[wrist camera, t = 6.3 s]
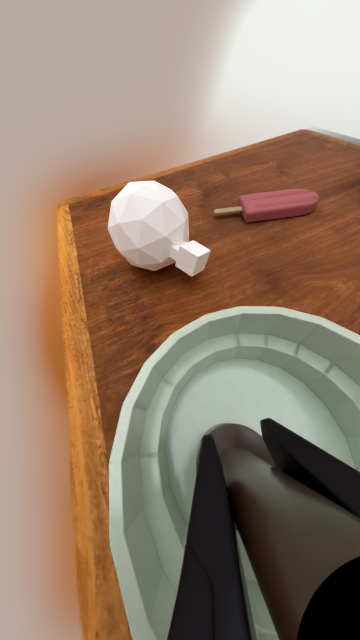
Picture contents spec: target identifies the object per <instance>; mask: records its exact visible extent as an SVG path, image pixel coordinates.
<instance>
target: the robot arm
mask: <svg viewBox="0 0 360 640" xmlns="http://www.w3.org/2000/svg"><path fill="white" fill-rule="evenodd" d="M260 426H261V432H262V437H263V440H264V442H265V444H266V446H267V448H268V450H269V452H270V454H271V456H272V458H273V460H274V462H275V464H276V466H277V468H278V469H279V470H280V471H282V472H284V473H285V474H287V475H289V476H290V477H292V478H294V479H295V480H297V481H299V482H300V483H302V484H304V485H305V486H307V487H309V488H311V489H312V490H314V491H316V492H317V493H319V494H321V495H322V496H324V497H326V498H327V499H329V500H331V501H332V502H334V503H336V504H337V505H339V506H341V507H342V508H344V509H346V510H347V511H349V512H351V513H352V514H354V515H356V516H357V517H359V518H360V472H359V471H358V470H356V469H354V468H353V467H351V466H349V465H348V464H346V463H344V462H343V461H341V460H339V459H338V458H336V457H334V456H333V455H331V454H329V453H328V452H326V451H324V450H323V449H321V448H319V447H318V446H316V445H314V444H313V443H311V442H309V441H308V440H306V439H304V438H303V437H301V436H299V435H298V434H296V433H294V432H293V431H291V430H289V429H288V428H286V427H284V426H283V425H281V424H279V423H278V422H276V421H274V420H273V419H271V418H266V419H262V420H261V421H260ZM186 542H187V543H186V544H185V550H184V556H183V563H182V568H181V574H180V579H179V585H178V591H177V596H176V600H175V605H174V609H173V614H172V619H171V623H170V628H169V632H168V636H167V640H257V636H256V631H255V626H254V621H253V616H252V610H251V605H250V600H249V595H248V590H247V584H246V579H245V574H244V569H243V564H242V558H241V553H240V548H239V543H238V537H237V532H236V527H235V522H234V518H233V514H232V509H231V503H230V498H229V493H228V489H227V484H226V480H225V475H224V471H223V466H222V462H221V458H220V455H219V452H218V449H217V446H216V443H215V440H214V437H213V435H212V434H211V433H210V434H206V435H203V437H202V442H201V448H200V455H199V461H198V468H197V474H196V480H195V487H194V493H193V500H192V506H191V512H190V519H189V525H188V532H187V538H186Z"/></svg>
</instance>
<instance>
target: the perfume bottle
mask: <svg viewBox="0 0 360 640" xmlns="http://www.w3.org/2000/svg"><path fill="white" fill-rule="evenodd" d="M108 231H109V233H110V235H111V238H112V240H113V243H114V245H115V247H116V248H117V249H118V250H119V252H120V253H121V254H122V255H123V256H124V257H125V258H126V259H127V261H128V262H129V263H130V264H131V265H133V266H137V267H140V268H144V269H148V270H152V271H156V270H159V269H161V268H163V267H166V266H168V265H171V264H173V263H175V262H176V265H175V266H176V267H178V268H179V269H181V270H182V271H184V272H185V273H187V274H188V275H190V276H191V277H192V276H194V275H196V274H197V273H199V272H201V271H202V270H204V268H205V265H206V262H207V259H208V257H209V254H210V251H211V250H209V249H207V248H206V247H204V246H202V245H201V244H199V243H197V242H195V241H194V240H193V241H190V242H189V225H188V212H187V210H186V209H185V207H184V206H183V204H182V202H181V201H180V199H179V198H178V196H177V195H176V194H175V193H174V192H173V191H172V190H171V189H169V188H167V187H165V186H163V185H161V184H159V183H158V182H156V181H141V182H129V183H128V184H127V185H126V186H125V187H124V188H123V190H122V191H121V192H120V193H119V194H118V195H117V196H116V197H115V198H114V199H113V200H112V202H111V209H110V216H109V223H108Z"/></svg>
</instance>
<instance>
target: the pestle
mask: <svg viewBox="0 0 360 640" xmlns="http://www.w3.org/2000/svg"><path fill="white" fill-rule="evenodd" d="M210 433H211V434H212V435H213V437H214V440H215V443H216V446H217V449H218V452H219V455H220V458H221V462H222V466H223V471H224V475H225V480H226V484H227V489H228V493H229V498H230V503H231V509H232V514H233V518H234V522H235V527H236V530H237V531H238V532H239V535H240V537H241V540H242V543H243V545H244V548H245V551H246V553H247V556H248V559H249V561H250V564H251V567H252V569H253V572H254V575H255V577H256V580H257V583H258V585H259V588H260V590H261V593H262V596H263V598H264V601H265V604H266V606H267V609H268V612H269V614H270V617H271V620H272V622H273V625H274V628H275V630H276V633H277V636H278V638H279V640H360V518H359V517H357V516H356V515H354V514H352V513H351V512H349V511H347V510H346V509H344V508H342V507H341V506H339V505H337V504H336V503H334V502H332V501H331V500H329V499H327V498H326V497H324V496H322V495H321V494H319V493H317V492H316V491H314V490H312V489H311V488H309V487H307V486H305V485H304V484H302V483H300V482H299V481H297V480H295V479H294V478H292V477H290V476H289V475H287V474H285V473H284V472H282V471H280V470H279V469H278V468H277V466H276V464H275V462H274V460H273V458H272V456H271V454H270V452H269V450H268V448H267V446H266V444H265V442H264V440H263V437H262V436H260V435H259V434H258V433H257V432H255V431H254V430H253V429H251V428H249V427H247V426H244V425H241V424H234V423H221V424H217V425H215V426H213V427H211V428H210V429H209V430H207V432H206V433H205V434H204V435H206V434H210ZM201 442H202V438H201V440H200V442H199V445H198V449H197V455H196V474H197V468H198V461H199V455H200V448H201Z"/></svg>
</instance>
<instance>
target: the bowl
mask: <svg viewBox="0 0 360 640" xmlns="http://www.w3.org/2000/svg"><path fill="white" fill-rule="evenodd" d="M266 418H271V419H273V420H274V421H276V422H278V423H279V424H281V425H283V426H284V427H286V428H288V429H289V430H291V431H293V432H294V433H296V434H298V435H299V436H301V437H303V438H304V439H306V440H308V441H309V442H311V443H313V444H314V445H316V446H318V447H319V448H321V449H323V450H324V451H326V452H328V453H329V454H331V455H333V456H334V457H336V458H338V459H339V460H341V461H343V462H344V463H346V464H348V465H349V466H351V467H353V468H354V469H356V470H358V471H359V472H360V335H358V334H356V333H354V332H352V331H350V330H348V329H345V328H343V327H341V326H339V325H337V324H335V323H333V322H331V321H329V320H327V319H325V318H322V317H319V316H315V315H311V314H307V313H303V312H299V311H295V310H291V309H287V308H283V307H266V306H238V307H234V308H230V309H226V310H222V311H218V312H214V313H210V314H206V315H204V316H202V317H200V318H198V319H197V320H195V321H193V322H191V323H190V324H188V325H186V326H184V327H183V328H181V329H179V330H177V331H176V332H174V333H173V334H171V335H170V337H169V338H168V339H167V340H166V341H165V342H164V343H163V344H162V345H161V346H160V347H159V348H158V349H157V350H156V351H155V352H154V353H153V354H152V355H151V356H150V357H149V358H148V359H147V360H146V362H145V363H144V365H143V367H142V368H141V370H140V372H139V374H138V376H137V378H136V380H135V382H134V383H133V385H132V387H131V389H130V391H129V393H128V395H127V397H126V399H125V400H124V402H123V405H122V409H121V413H120V417H119V422H118V426H117V430H116V434H115V439H114V443H113V447H112V451H111V456H110V460H109V541H110V548H111V552H112V556H113V560H114V565H115V569H116V573H117V577H118V582H119V586H120V590H121V594H122V598H123V603H124V607H125V611H126V615H127V620H128V624H129V628H130V632H131V637H132V640H167V636H168V632H169V628H170V623H171V619H172V614H173V609H174V605H175V600H176V596H177V591H178V585H179V579H180V574H181V568H182V563H183V556H184V550H185V544H186V543H187V542H186V538H187V532H188V525H189V519H190V512H191V506H192V500H193V493H194V487H195V480H196V455H197V449H198V445H199V442H200V440H201V438H202V437H203V435H204V434H205V433H206V432H207V430H209V429H210V428H211V427H213V426H215V425H217V424H221V423H234V424H241V425H244V426H247V427H249V428H251V429H253V430H254V431H255V432H257V433H258V434H259V435H260V436H262V432H261V426H260V421H261V420H262V419H266ZM236 532H237V537H238V543H239V548H240V553H241V558H242V564H243V569H244V574H245V579H246V584H247V590H248V595H249V600H250V605H251V610H252V616H253V621H254V626H255V631H256V636H257V640H279V638H278V636H277V633H276V630H275V628H274V625H273V622H272V620H271V617H270V614H269V612H268V609H267V606H266V604H265V601H264V598H263V596H262V593H261V590H260V588H259V585H258V583H257V580H256V577H255V575H254V572H253V569H252V567H251V564H250V561H249V559H248V556H247V553H246V551H245V548H244V545H243V543H242V540H241V537H240V535H239V532H238V531H237V530H236Z"/></svg>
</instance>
